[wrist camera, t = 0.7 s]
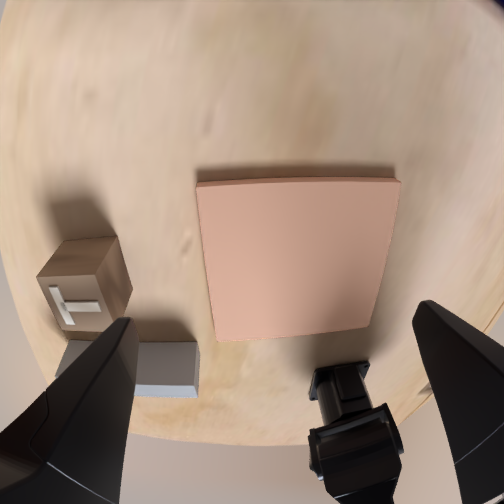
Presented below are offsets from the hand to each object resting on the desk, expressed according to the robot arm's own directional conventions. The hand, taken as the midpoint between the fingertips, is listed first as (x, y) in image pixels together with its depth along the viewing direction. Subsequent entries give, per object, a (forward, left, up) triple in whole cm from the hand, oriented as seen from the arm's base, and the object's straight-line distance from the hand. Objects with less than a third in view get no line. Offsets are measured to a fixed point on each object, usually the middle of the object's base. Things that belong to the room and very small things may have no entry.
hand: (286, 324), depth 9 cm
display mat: (-7, -3, -13) cm, 15 cm away
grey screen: (-16, +13, -13) cm, 24 cm away
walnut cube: (-6, +13, -13) cm, 19 cm away
